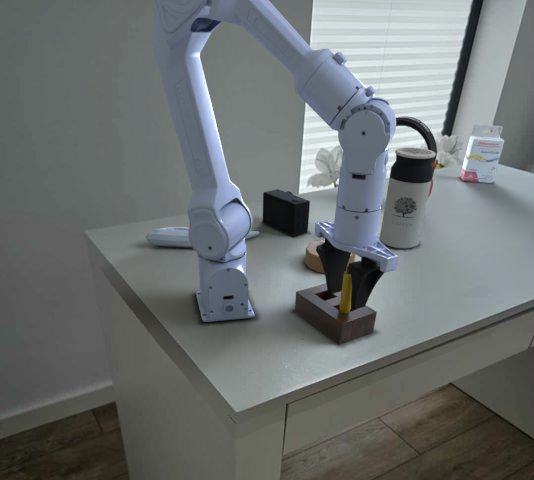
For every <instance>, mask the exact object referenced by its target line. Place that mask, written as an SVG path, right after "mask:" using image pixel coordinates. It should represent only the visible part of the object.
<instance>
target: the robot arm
mask: <svg viewBox="0 0 534 480" xmlns="http://www.w3.org/2000/svg"><path fill="white" fill-rule="evenodd" d="M153 1H154V8H153V9H154V12H153V24H152V28H153V29H152V38H151V41H152V51H153V54H154V57H155V61H156V65H157V68H158V72H159V75H160V79H161V83H162V86H163V90H164V94H165V97H166V100H167V104H168V108H169V111H170V115H171V118H172V123H173V125H174V130H175V133H176V137H177V140H178V142H179V143H178V144H179V147H180V150H181V155H182V157H183V161H184V165H185V169H186V172H187V175H188V179H189V183H190V186H191V191H192V192H191V195H190V198H189V201H188V206H187V209H186V212H187V216H188V221H189V225H188V228H189V232H188V234H189V240H190V243H191V246H192V247H191V248H192V249H193V251H195V253H197V259H198V261H197V262H198V273H199V274H198V277H199V278H198V279H199V290H197V291H196V292H195V297H196V300H197V304H198V309H199V313H200V317H201V321H202V322H204V323H207V322H208V323H209V322H219V321H220V322H221V321H229V320H241V319H252V318H255V312H254V310H253V307H252V305H251V302H250V300H249V280H248V276H247V245H246V239H245V237H246V236H247V235H248V234H249V232H250V231H252V227H253V216H252V213H251V211H250V209H249V207H248V206H247V205H246V204H245V202H244V200H243V198H242V194H241V189H239V187H238V186H236V184H235V183H233V182H232V181H231V179H230V176H229V170H228V167H227V163H226V158H225V154H224V151H223V147H222V143H221V139H220V138H221V137H220V134H219V130H218V127H217V122H216V117H215V114H214V110H213V106H212V101H211V97H210V93H209V89H208V84H207V81H206V77H205V76H206V75H205V72H204V68H203V64H202V60H201V52H202V51H203V49H204V48H205V45H206V43H207V41H208V40H209V38H210V36H211V34H212V33H213V31H214V30H215V29H217V28H218V27H219V26H221V24H222V23H226V24H227V23H228V24H233V25H239V26H240V27H241V28H243V29H244V30H245V31H246V32H247V33H249V34H250V36H252V37H253V39H255V40H256V41H257V42H258V43H259V44H260V45H261V46H262V47H263V48H265V49H266V50H267V51H268V52H269V53H270V54H271V55H272V56H273V57H274V58H275V59H276V60H277V61H279V62H280V63H281V64H282V65H283V66H284V67H285V68H286V69H288V71H290V72H291V73H292V76H293V86H294V92H295V93H296V94H297V95H298V96H299V98H300V99H301V100H302V101H303V102H304V103H306V104H307V105H308V107H310V109H311V110H313V111H314V113H315V114H317V115H318V117H319V118H320V119H321V120H322V121H324V123H325V124H326V125H328V127H329V128H330V129H331V130H333V131H337V139H338V143H339V146H340V148H341V149H342V155H341V156H342V157H341V164H340V165H341V166H340V168H339V175H338V184H337V192H336V202H335V211H334V221H333V222H334V223H332V222H330V221H327V220H323V221H319V222H315V225H314V233H313V236H314V237H316V238H318V239H320V238H323V239H324V240H325V242H323V244H321V245H318V246H317V247H316V252H317V253H318V255H319V257H320V260H321V262H322V265H323V269H324V273H323V274H324V278H325V283H326V284H327V290H328V293H329V294H333V293H337V292H340V291H341V290H342V284H343V275H344V272H345V271H346V268H347V264H348V261H349V258H350V256H351V253H353V254H356V255H355V256H357V257H358V258H359V257H360V260H358V261H357V260H356V261H355V262H353V263H349V265H348V267H349V270H350V274H351V280H352V294H351V307H352V308H353V309H355V310H356V309H359V308H362V307H365V305H366V306H367V303H368V300H369V298H370V296H371V294H372V292H373V290H374V289H375V286H376V285H377V284H378V282H379V280H380V279H381V278H382V277H383V275H384V274H386V273H390V272H394V271H396V270H397V268H398V263H399V254H396V253H394V252H393V251H391V250H390V249H389V248H388V247H387V245H385V244H384V243H382V242H381V241H380V234H379V233H378V229H379V224H380V223H379V222H380V217H381V212H382V211H381V210H382V204H383V200H384V199H383V198H384V193H385V185H386V179H387V171H388V169H387V164H388V161H389V147H388V145H389V143H390V142H391V141H392V139H393V137H394V135H395V132H396V128H397V126H396V117H397V116H396V114H395V111H394V110H393V108H392V107H391V105H390V103H389V101H388V100H387V99H385V98H382V97H378V96H377V97H376V96H375V95H376V93H377V90H376V89H375V88H374V87H373V86H372V85H369V86H368V87H366V86H365V84H363V82H362V81H361V80H360V79H359V78H358V77H357V76H356V75H355V74H354V73H353V72H352V71H351V70H350V69H349V68H348V67H347V66H346V65H345V64H346V63H347V61H348V58H347V57H346V56H345V55H344V54H343V53H342V51H338V52H335V54H334V52H333V51H332V50H331V49H329V48H321V49H313V48H312V47H311V45H309V44H308V42H306V40H305V39H304V38H303V37H302V36H301V35H300V33H298V31H297V30H296V29H295V28H294V27H293V26H292V24H290V22H289V21H288V20H287V19H286V18H285V16H283V14H282V13H281V12H280V11H279V10H278V9H277V8H276V7H275V5H274V4H273V3H272V2H271V1H270V0H153Z"/></svg>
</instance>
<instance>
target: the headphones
mask: <svg viewBox="0 0 534 480" xmlns="http://www.w3.org/2000/svg"><path fill="white" fill-rule="evenodd" d="M395 117H396V127H407V128H411V129H413V130H415V131H416V132H417V133H418V134H420V136H421V137H422V139H423V140H424V142H425V144H426V148H427V150H431V151H433V152H435V153H436V156H435V157H434V158H433V160H432V163H431V164H432V168H433V171H434V172H433V175H434V174H435V170H436V163H437V161H436V159H437V157H438V145H437V140H436V138H435V136H434V134H433V132H432V130H431V129H430V128H429V127H428V125H427V124H425V123H424V122H422V121H421V120H420V119H418V118H416V117H412V116H409V115H407V116H406V115H404V116H402V115H401V116H395ZM433 177H434V176H433ZM433 177H432V181H431V186H430V191H429V196H428V199H429V197H430V196H431V194H432V191H433V188H434V187H433V186H434V180H433Z"/></svg>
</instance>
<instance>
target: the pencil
mask: <svg viewBox="0 0 534 480" xmlns="http://www.w3.org/2000/svg"><path fill="white" fill-rule="evenodd" d="M351 294H352V280H351V274H350V270H349V267H348V266H347V271H345V272H344V275H343V284H342V292H341V300H340V308H339V311H340V312H342V313H344V314H345V313H348V312H350V309H351Z"/></svg>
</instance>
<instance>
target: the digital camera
mask: <svg viewBox="0 0 534 480" xmlns="http://www.w3.org/2000/svg"><path fill="white" fill-rule="evenodd" d="M310 206H311V200H309V199H306V198H303V197H301V196H298V195H295V194H294V193H293V192H291V191H289V190H287V191H285V190H281V189H279V188H278V189H273V190H267V191H264V192H263V193H262V224H264V225H266V226H268V227H270V228H273V229H275V230H278V231H279V232H282V233H284V234H286V235H287V236H290V237H293V238H295V237H297V236H301V235H304V234H308V232H309V219H310V209H311V208H310Z"/></svg>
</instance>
